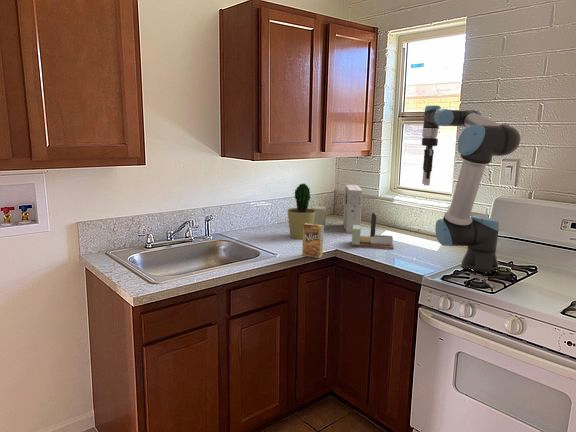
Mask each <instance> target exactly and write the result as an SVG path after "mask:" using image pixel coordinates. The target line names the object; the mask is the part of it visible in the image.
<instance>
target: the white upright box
mask: <svg viewBox="0 0 576 432" xmlns="http://www.w3.org/2000/svg"><path fill="white" fill-rule="evenodd" d="M344 186H345V187H344V199H343V202H344V203H343V215H342V217H343V218H342V221H343V222H342V224H343V227H344V230H345V232H346V234H352V232H353V225H361V221H362V220H361V219H362V204H363V189H362V188H361V187H360V186H358V184H357V185H356V184H345V185H344Z"/></svg>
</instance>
